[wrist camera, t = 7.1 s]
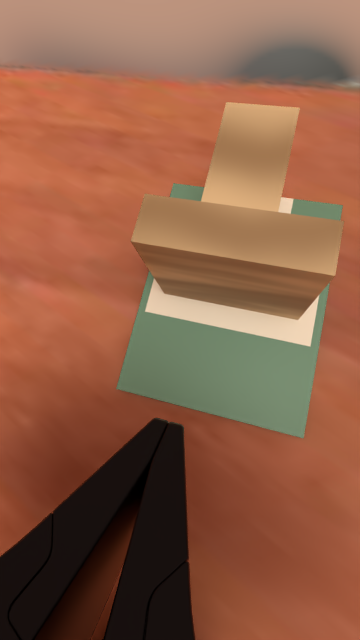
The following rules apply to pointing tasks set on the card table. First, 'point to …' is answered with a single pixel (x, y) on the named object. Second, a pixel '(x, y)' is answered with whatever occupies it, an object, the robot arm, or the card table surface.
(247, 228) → the oak t block
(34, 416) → the card table surface
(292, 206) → the board
